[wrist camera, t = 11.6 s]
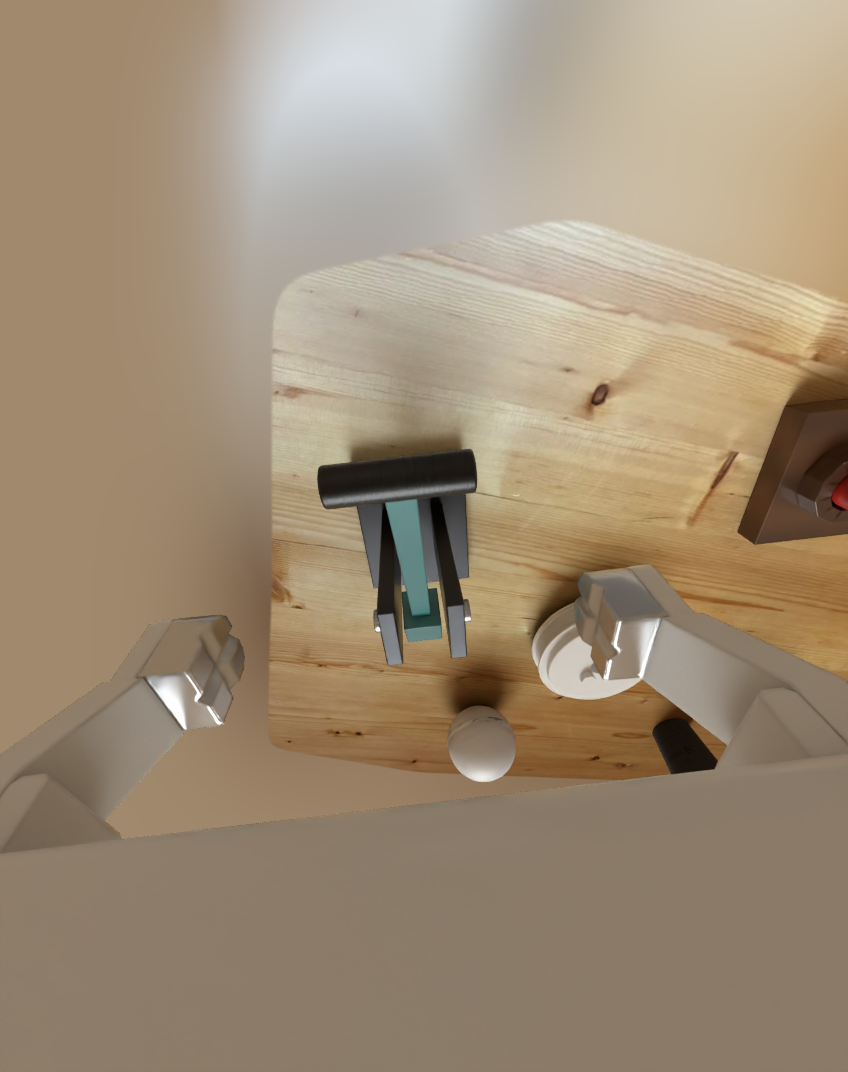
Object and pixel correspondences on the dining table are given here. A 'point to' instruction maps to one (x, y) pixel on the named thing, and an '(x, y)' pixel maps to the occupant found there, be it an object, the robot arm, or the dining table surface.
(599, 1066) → the robot arm
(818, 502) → the button block
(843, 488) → the button
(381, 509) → the bracket
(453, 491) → the lever
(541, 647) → the lid
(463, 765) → the bath bomb
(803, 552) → the dining table surface
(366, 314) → the dining table surface
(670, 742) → the drinking cup
